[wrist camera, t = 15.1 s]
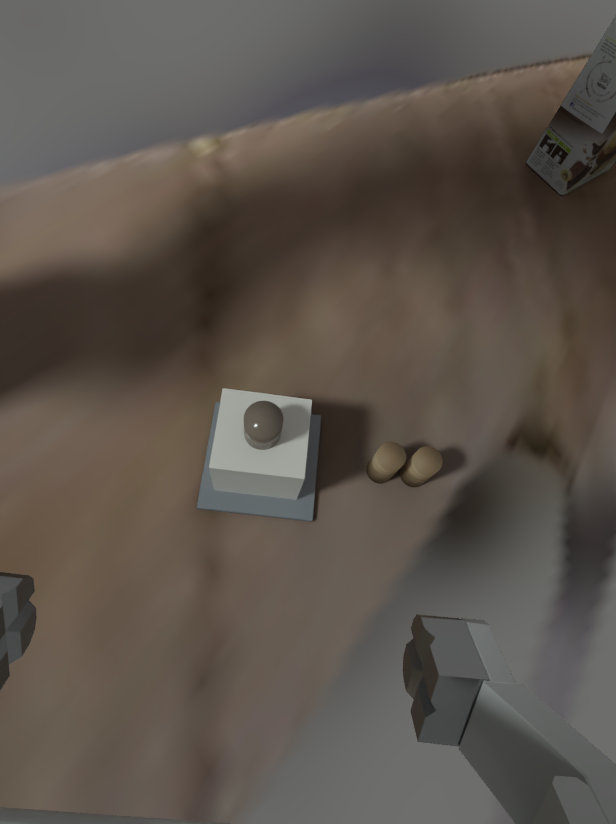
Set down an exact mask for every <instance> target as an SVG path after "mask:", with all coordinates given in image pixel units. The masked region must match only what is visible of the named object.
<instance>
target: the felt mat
mask: <svg viewBox="0 0 616 824" xmlns="http://www.w3.org/2000/svg"><path fill="white" fill-rule="evenodd" d="M219 407H220V402H216V404H215V409H214V415H213V420H212V426H211V431H210V437H209V442H208V448H207V453H206V459H205V464H204V470H203V475H202V481H201V487H200V492H199V498H198V503H197V509H204V510H213V511H222V512H231V513H239V514H248V515H257V516H266V517H275V518H284V519H293V520H302V521H311V522H312V521H313V510H314V498H315V486H316V474H317V462H318V450H319V438H320V426H321V415H314V414H311V416H310V427H309V438H308V448H307V459H306V469H305V479H304V482H303V484H302V487H301V490H300V492H299V495H298V497H297V500H295V499H286V498H277V497H269V496H260V495H251V494H242V493H234V492H225V491H216V490H214V488H213V483H212V479H211V475H210V471H209V464H210V458H211V452H212V447H213V441H214V435H215V430H216V424H217V418H218V413H219Z"/></svg>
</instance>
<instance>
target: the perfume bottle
mask: <svg viewBox="0 0 616 824" xmlns="http://www.w3.org/2000/svg"><path fill="white" fill-rule="evenodd" d="M311 406H312V400H310V399H302V398H295V397H287V396H279V395H271V394H264V393H256V392H248V391H240V390H233V389H225V388H223V390H222V396H221V401H220V407H219V413H218V418H217V424H216V430H215V435H214V441H213V447H212V452H211V458H210V464H209V471H210V475H211V479H212V483H213V488H214V490H216V491H225V492H234V493H242V494H251V495H260V496H269V497H277V498H286V499H295V500H297V497H298V495H299V492H300V490H301V487H302V484H303V482H304V479H305V469H306V459H307V448H308V438H309V427H310V416H311Z"/></svg>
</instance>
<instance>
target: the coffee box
mask: <svg viewBox="0 0 616 824" xmlns="http://www.w3.org/2000/svg"><path fill="white" fill-rule="evenodd" d="M615 161H616V16H615V18H614V19H613V21H612V23H611V24H610V26H609V28H608V29H607V31H606V32H605V34H604V36H603V37H602V39H601V41H600V42H599V44H598V46H597V47H596V49H595V50H594V52H593V54H592V55H591V57H590V59H589V60H588V62H587V63H586V65H585V67H584V68H583V70H582V72H581V73H580V75H579V76H578V78H577V80H576V81H575V83H574V85H573V86H572V88H571V89H570V91H569V93H568V94H567V96H566V98H565V99H564V101H563V102H562V104H561V106H560V108H559V109H558V111H557V113H556V114H555V116H554V118H553V119H552V121H551V122H550V124H549V126H548V127H547V129H546V130H545V132H544V134H543V135H542V137H541V139H540V140H539V142H538V144H537V145H536V147H535V149H534V150H533V152H532V153H531V155H530V157H529V158H528V160H527V162H526V163H527V164H528V165H529V166H530V167H531V168H532V169H533V170H534V171H535V172H536V173H537V174H538V175H540V176H541V177H542V178H543V179H544V180H545V181H546V182H547V183H548V184H549V185H550V186H551V187H552V188H553V189H554V190H556V191H557V192H558V193H559V194H560V195H565V194H567V193H569V192H570V191H572V190H574V189H576V188H577V187H579V186H581V185H583V184H585V183H586V182H588V181H590V180H592V179H593V178H595V177H597V176H599V175H601V174H602V173H604V172H606V171H608V170H609V169H610V168H611V167H612V165H613V164H614V163H615Z"/></svg>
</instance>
